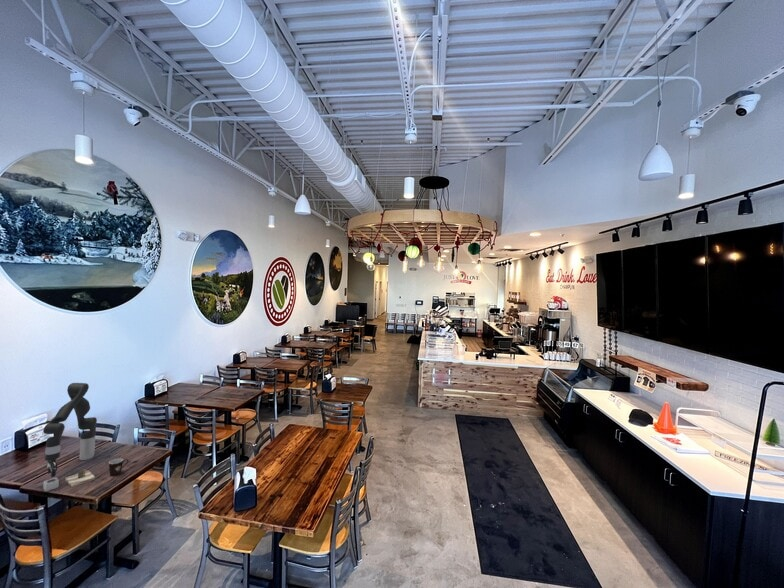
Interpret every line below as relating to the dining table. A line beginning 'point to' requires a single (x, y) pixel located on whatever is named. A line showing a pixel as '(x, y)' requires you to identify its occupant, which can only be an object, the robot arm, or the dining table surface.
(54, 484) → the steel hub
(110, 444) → the dining table surface
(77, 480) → the post plate
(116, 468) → the coffee mug
